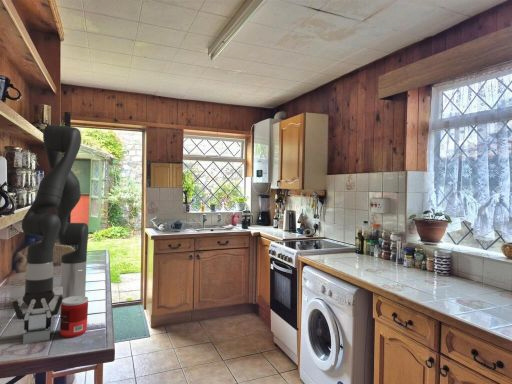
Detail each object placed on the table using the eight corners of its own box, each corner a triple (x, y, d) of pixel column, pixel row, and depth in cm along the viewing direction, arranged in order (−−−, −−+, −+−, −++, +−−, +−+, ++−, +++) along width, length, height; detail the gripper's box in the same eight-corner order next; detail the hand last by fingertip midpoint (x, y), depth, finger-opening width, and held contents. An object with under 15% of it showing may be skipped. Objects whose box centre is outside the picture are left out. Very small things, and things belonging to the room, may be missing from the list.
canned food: (90, 328, 115) (92, 296, 114) (79, 338, 107) (81, 304, 107) (67, 327, 114) (69, 295, 114) (54, 337, 106) (56, 303, 106)
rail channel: (26, 333, 109) (26, 323, 109) (50, 329, 112) (51, 320, 112) (23, 344, 101) (23, 334, 101) (49, 340, 105) (49, 330, 105)
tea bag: (61, 315, 126) (62, 288, 126) (40, 317, 123) (41, 289, 123) (62, 311, 129) (63, 285, 129) (41, 313, 126) (42, 287, 127)
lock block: (29, 331, 109) (30, 309, 109) (46, 329, 111) (47, 307, 111) (27, 338, 103) (28, 315, 104) (45, 336, 106) (46, 313, 106)
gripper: (65, 271, 114) (63, 322, 114) (14, 275, 107) (11, 329, 107) (65, 276, 108) (63, 330, 107) (10, 281, 101) (8, 338, 101)
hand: (37, 329), depth 107 cm, fingers closed on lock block, 4 cm apart
